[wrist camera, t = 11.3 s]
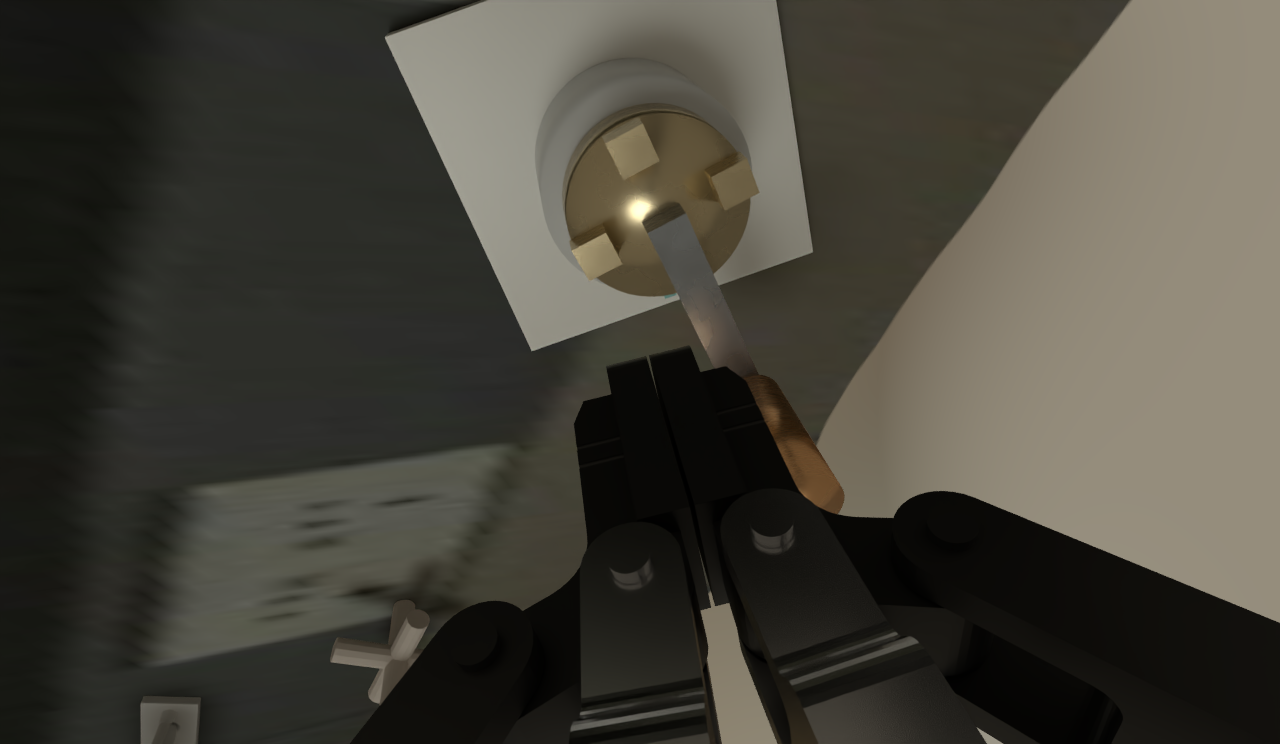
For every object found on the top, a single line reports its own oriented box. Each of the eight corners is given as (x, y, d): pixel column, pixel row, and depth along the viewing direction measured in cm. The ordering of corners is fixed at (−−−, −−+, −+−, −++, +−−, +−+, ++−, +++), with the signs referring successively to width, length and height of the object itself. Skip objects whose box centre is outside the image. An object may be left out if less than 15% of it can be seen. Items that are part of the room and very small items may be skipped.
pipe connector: (362, 557, 55) (340, 668, 47) (480, 579, 59) (478, 686, 50) (328, 633, 59) (302, 747, 51) (440, 649, 63) (433, 757, 55)
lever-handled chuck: (528, 159, 32) (545, 266, 22) (697, 67, 31) (794, 135, 21) (676, 416, 42) (733, 567, 32) (806, 352, 42) (906, 488, 32)
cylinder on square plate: (388, 33, 35) (366, 56, 29) (752, -97, 35) (808, -102, 29) (530, 339, 46) (536, 403, 40) (804, 243, 46) (852, 292, 40)
